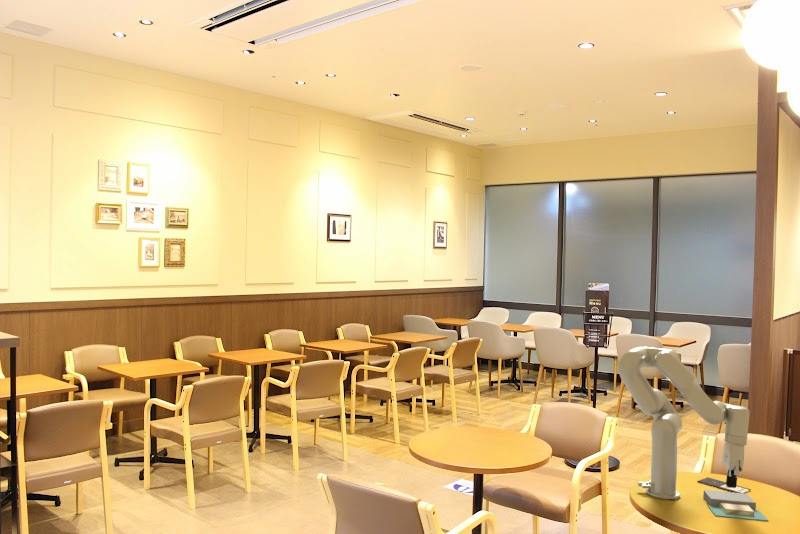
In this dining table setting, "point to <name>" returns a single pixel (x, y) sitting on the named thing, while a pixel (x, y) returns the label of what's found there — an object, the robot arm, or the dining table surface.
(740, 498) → the gray block
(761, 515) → the teal mat
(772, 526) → the dining table surface
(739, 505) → the brass tile
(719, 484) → the chocolate bar
